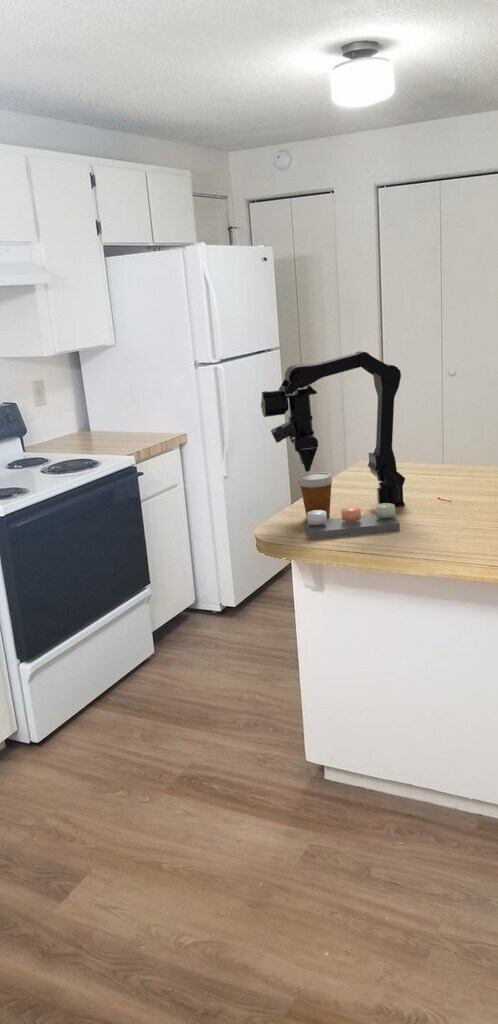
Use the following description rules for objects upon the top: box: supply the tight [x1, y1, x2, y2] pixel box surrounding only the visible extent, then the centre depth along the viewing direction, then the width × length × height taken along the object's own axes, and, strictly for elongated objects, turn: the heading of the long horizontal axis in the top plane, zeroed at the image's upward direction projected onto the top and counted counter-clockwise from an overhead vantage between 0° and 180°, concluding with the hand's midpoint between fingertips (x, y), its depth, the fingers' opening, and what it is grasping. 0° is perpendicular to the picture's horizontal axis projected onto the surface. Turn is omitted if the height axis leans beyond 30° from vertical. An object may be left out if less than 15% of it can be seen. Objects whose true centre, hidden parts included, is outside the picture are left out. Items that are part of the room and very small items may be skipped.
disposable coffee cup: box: [297, 471, 334, 519], centre depth 228 cm, size 10×10×12 cm
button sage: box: [374, 503, 396, 518], centre depth 215 cm, size 5×5×2 cm
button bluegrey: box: [306, 510, 327, 525], centre depth 215 cm, size 5×5×2 cm
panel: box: [305, 513, 401, 541], centre depth 216 cm, size 23×10×2 cm, turn 93°
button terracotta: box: [340, 506, 362, 521], centre depth 215 cm, size 5×5×2 cm
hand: (305, 467), depth 229 cm, fingers open, 9 cm apart
